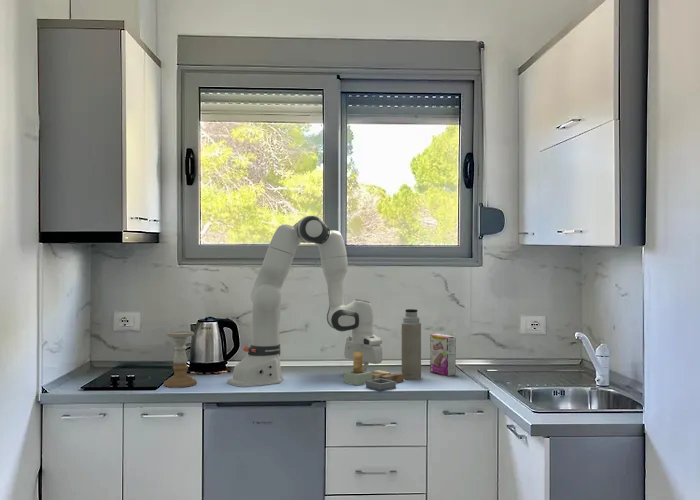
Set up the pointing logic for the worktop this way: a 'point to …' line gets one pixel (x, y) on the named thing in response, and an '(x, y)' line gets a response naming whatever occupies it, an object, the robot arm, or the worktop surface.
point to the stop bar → (394, 377)
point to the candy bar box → (443, 354)
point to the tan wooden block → (378, 374)
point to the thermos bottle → (411, 345)
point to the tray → (381, 384)
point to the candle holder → (180, 361)
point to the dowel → (358, 362)
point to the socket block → (357, 377)
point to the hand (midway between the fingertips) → (362, 371)
